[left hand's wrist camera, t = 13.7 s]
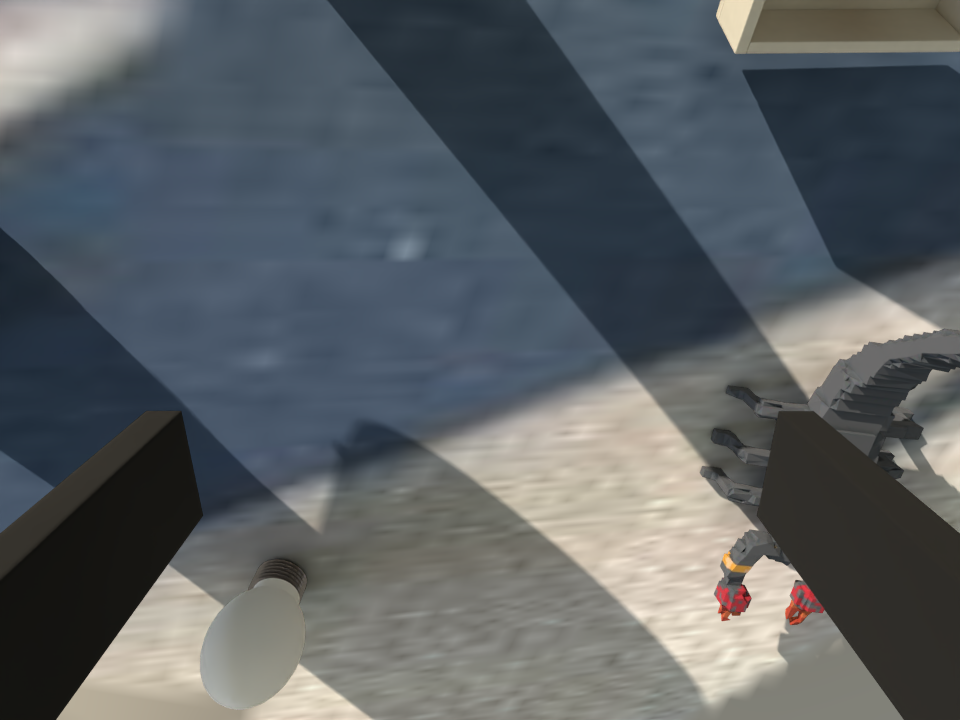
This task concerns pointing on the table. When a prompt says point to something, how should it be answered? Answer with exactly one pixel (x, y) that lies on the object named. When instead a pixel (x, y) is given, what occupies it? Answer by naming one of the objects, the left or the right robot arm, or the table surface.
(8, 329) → the table surface
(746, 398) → the toy
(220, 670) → the light bulb
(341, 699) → the table surface
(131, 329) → the table surface
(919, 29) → the pan
